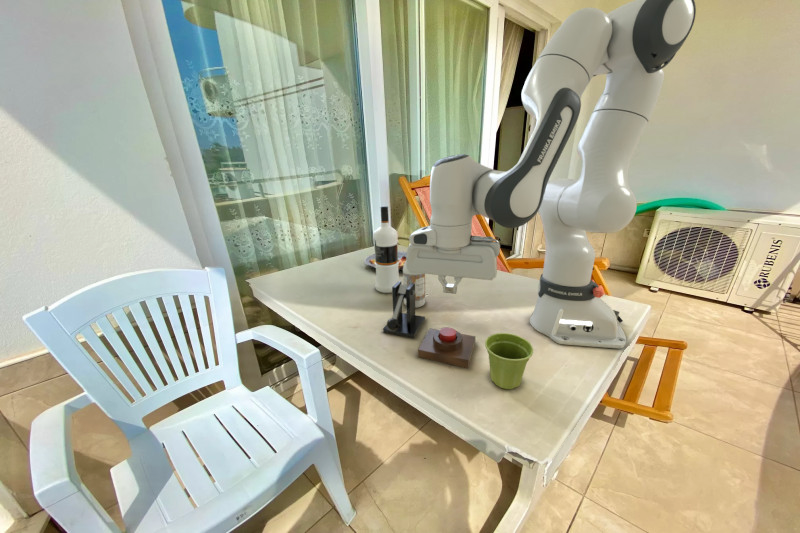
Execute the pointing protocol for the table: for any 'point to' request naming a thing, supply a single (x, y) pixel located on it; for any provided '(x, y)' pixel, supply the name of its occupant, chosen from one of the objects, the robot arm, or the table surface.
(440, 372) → the table surface
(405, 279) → the bath foam
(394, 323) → the lever
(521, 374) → the plant pot
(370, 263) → the food plate
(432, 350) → the button block
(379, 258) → the vodka
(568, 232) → the robot arm
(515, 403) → the table surface
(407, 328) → the tap bracket
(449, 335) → the button
